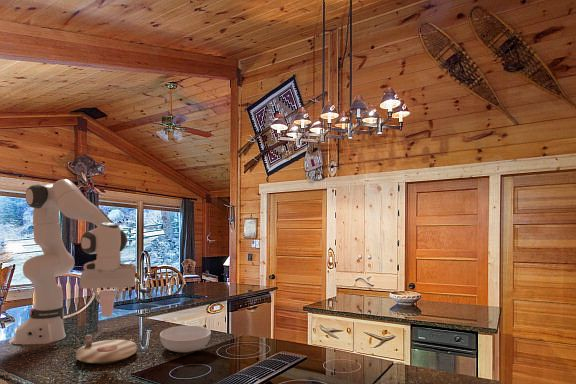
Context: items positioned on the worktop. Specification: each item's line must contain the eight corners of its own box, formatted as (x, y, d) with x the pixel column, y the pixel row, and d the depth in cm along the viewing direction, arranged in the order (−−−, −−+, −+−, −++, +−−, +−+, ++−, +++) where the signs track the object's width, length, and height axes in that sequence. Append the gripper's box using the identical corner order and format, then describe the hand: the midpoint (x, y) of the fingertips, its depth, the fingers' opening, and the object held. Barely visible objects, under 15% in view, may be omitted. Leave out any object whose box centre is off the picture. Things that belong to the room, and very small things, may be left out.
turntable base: (84, 367, 159) (84, 363, 159) (85, 353, 173) (85, 349, 173) (130, 361, 165) (130, 357, 165) (127, 348, 180) (127, 344, 180)
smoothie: (101, 313, 172) (102, 278, 173) (118, 313, 173) (118, 278, 173) (95, 317, 166) (96, 281, 166) (112, 317, 166) (113, 281, 167)
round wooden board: (148, 347, 176) (148, 333, 176) (108, 366, 155) (109, 351, 155) (105, 340, 183) (105, 327, 183) (62, 358, 163) (62, 343, 163)
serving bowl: (185, 361, 165) (185, 343, 166) (148, 351, 177) (148, 334, 177) (221, 346, 183) (221, 330, 183) (185, 337, 194) (186, 322, 194)
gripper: (137, 262, 176) (136, 295, 175) (82, 263, 171) (82, 298, 170) (135, 264, 169) (134, 299, 169) (79, 265, 164) (78, 301, 164)
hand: (107, 298), depth 170 cm, fingers closed on smoothie, 6 cm apart
